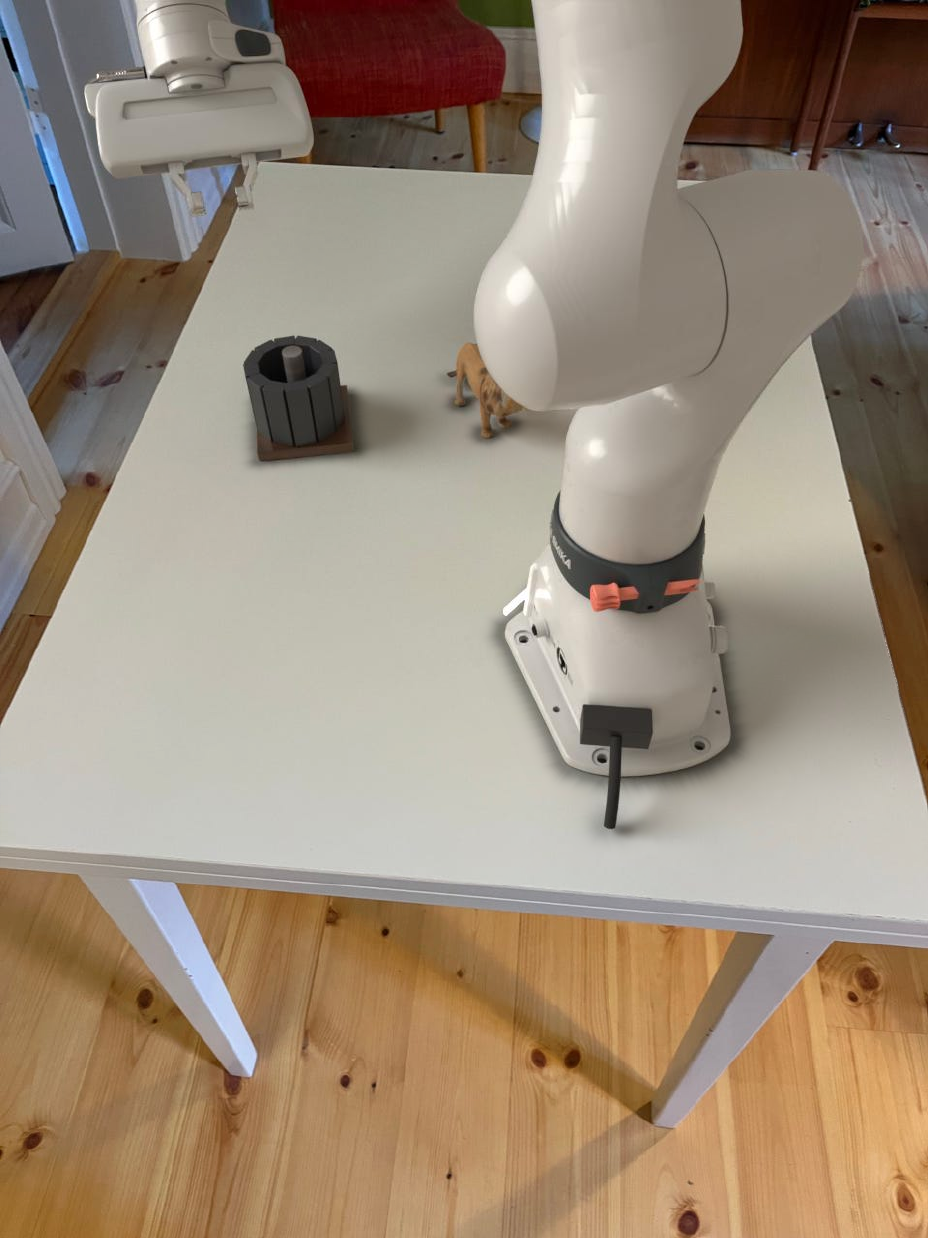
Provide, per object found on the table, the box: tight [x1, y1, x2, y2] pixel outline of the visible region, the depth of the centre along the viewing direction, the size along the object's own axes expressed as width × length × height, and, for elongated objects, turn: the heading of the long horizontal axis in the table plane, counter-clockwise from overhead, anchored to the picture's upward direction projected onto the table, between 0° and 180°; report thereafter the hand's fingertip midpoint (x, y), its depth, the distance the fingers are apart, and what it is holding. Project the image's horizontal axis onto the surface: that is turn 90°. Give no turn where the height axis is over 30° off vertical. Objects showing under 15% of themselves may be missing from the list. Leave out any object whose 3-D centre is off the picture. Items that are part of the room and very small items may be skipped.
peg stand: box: [256, 346, 355, 462], centre depth 97 cm, size 10×10×10 cm
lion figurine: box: [446, 341, 526, 439], centre depth 99 cm, size 15×5×9 cm, turn 34°
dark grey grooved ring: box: [242, 335, 345, 447], centre depth 98 cm, size 9×9×7 cm
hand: (222, 211), depth 91 cm, fingers open, 3 cm apart
